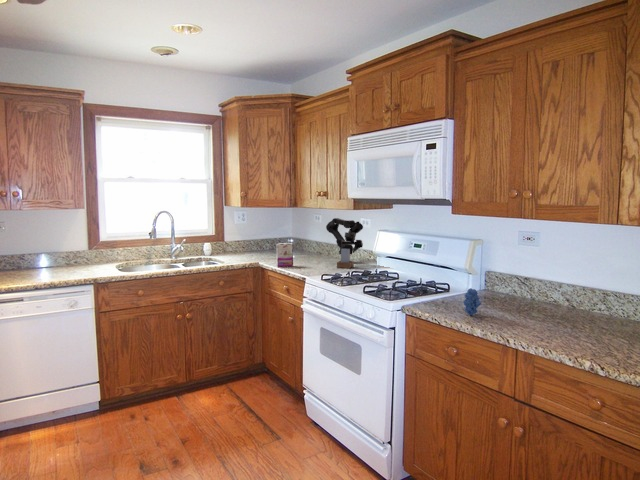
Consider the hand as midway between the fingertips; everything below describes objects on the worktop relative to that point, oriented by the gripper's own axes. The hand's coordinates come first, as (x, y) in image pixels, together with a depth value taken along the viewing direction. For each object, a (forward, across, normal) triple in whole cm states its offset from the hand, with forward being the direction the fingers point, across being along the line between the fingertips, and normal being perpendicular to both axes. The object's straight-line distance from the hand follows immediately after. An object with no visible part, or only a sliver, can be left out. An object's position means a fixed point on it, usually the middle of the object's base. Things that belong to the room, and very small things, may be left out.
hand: (346, 252), depth 315 cm
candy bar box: (+20, -40, -5) cm, 45 cm away
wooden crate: (+10, 0, +4) cm, 11 cm away
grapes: (+80, +90, -65) cm, 136 cm away
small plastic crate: (+10, 0, +4) cm, 10 cm away
